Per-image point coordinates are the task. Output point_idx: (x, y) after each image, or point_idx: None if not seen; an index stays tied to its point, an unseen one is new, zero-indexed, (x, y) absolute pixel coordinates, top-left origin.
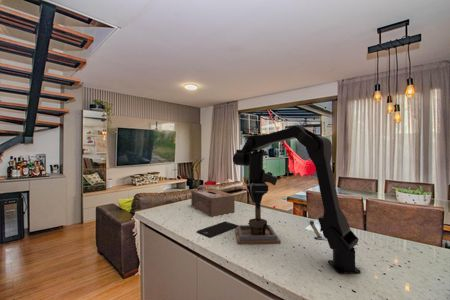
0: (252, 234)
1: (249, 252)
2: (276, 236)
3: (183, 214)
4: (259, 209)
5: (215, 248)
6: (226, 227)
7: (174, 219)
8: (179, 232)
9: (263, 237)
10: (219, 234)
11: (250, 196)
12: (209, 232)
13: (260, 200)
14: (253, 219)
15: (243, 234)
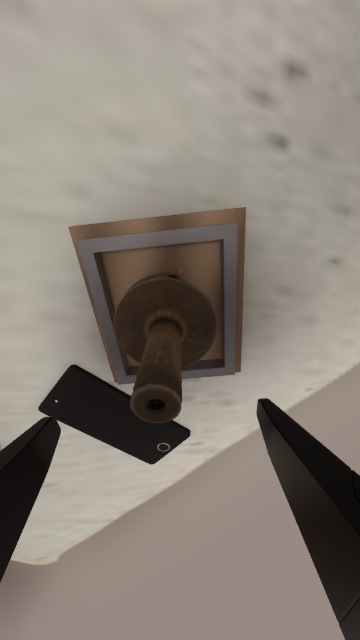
0: None
1: (299, 334)
2: (236, 226)
3: None
4: (176, 367)
5: None
6: (105, 403)
7: (66, 511)
8: (159, 487)
9: (235, 289)
10: None
11: (26, 510)
12: (159, 439)
13: (349, 476)
14: (139, 349)
15: None
